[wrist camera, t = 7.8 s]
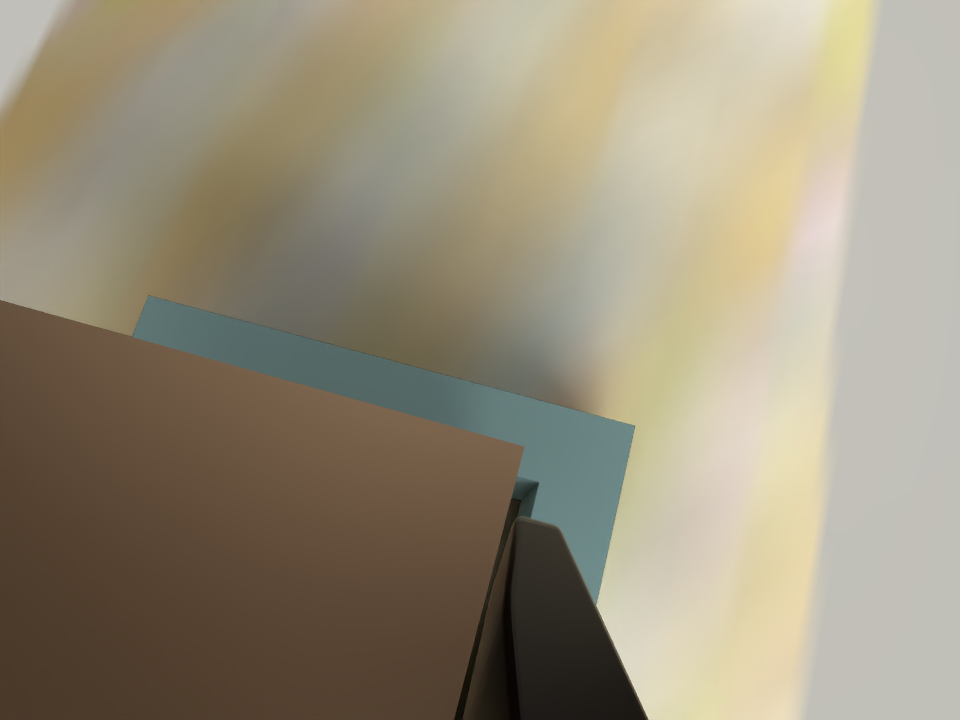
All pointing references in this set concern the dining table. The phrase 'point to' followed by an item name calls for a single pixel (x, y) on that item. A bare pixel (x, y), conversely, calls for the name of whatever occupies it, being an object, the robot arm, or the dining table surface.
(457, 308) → the dining table surface
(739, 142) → the dining table surface
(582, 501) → the square teal collar
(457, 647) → the square wooden post
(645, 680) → the dining table surface
